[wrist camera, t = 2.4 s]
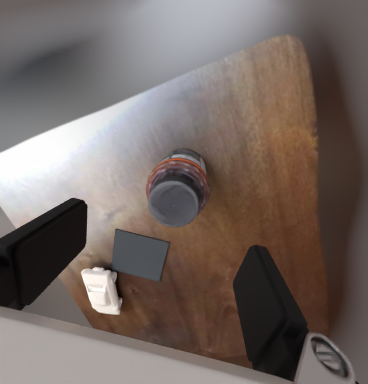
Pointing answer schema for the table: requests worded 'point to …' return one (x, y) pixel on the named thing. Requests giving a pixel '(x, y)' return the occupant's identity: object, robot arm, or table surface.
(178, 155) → the supplement bottle
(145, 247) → the mat
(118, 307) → the toy car
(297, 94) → the table surface
